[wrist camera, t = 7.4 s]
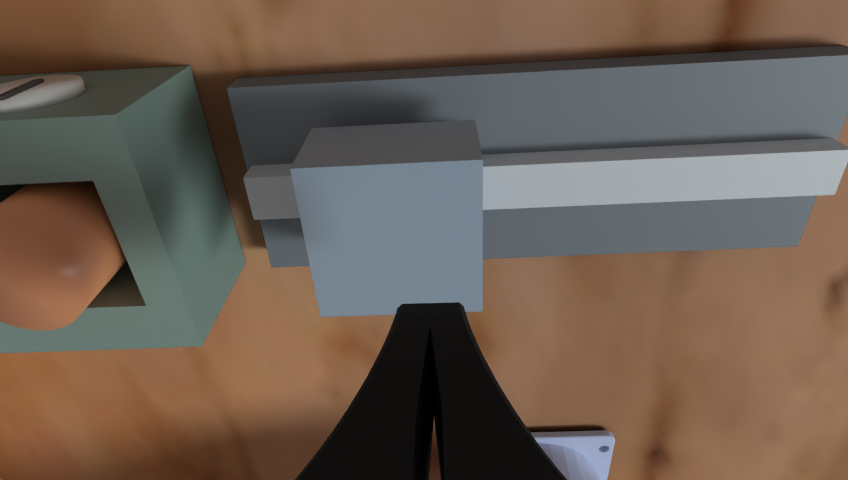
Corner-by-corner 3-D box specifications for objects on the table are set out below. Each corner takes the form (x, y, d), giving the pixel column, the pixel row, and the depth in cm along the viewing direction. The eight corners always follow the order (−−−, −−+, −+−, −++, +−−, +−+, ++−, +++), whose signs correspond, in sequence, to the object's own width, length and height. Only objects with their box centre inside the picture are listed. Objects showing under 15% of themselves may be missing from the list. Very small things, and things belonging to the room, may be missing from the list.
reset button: (165, 249, 19) (104, 328, 15) (67, 253, 19) (-15, 332, 16) (131, 155, 17) (52, 221, 14) (22, 161, 17) (-84, 227, 14)
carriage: (473, 242, 20) (482, 310, 16) (338, 248, 20) (320, 316, 16) (473, 110, 17) (482, 159, 14) (317, 118, 17) (290, 168, 14)
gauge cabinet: (245, 262, 22) (201, 346, 18) (81, 268, 22) (0, 353, 18) (186, 53, 18) (109, 99, 13) (-18, 64, 18) (-156, 113, 14)
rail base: (780, 229, 21) (813, 261, 19) (279, 250, 22) (264, 282, 20) (844, 45, 17) (894, 61, 15) (237, 77, 18) (215, 97, 16)
